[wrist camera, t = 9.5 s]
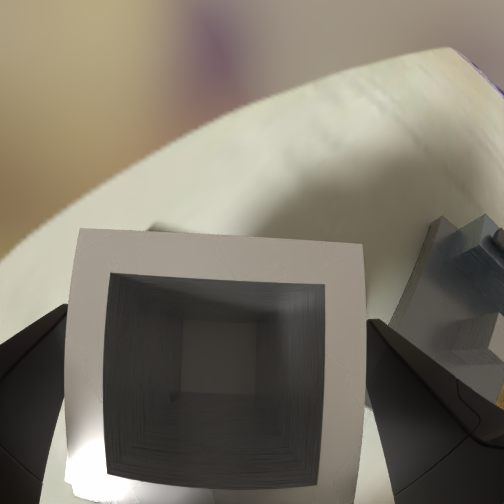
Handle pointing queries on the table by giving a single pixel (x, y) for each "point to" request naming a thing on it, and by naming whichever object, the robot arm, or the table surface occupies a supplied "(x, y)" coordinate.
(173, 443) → the square hollow tube
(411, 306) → the grey piece
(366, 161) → the table surface
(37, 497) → the robot arm
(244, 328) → the cutting board
